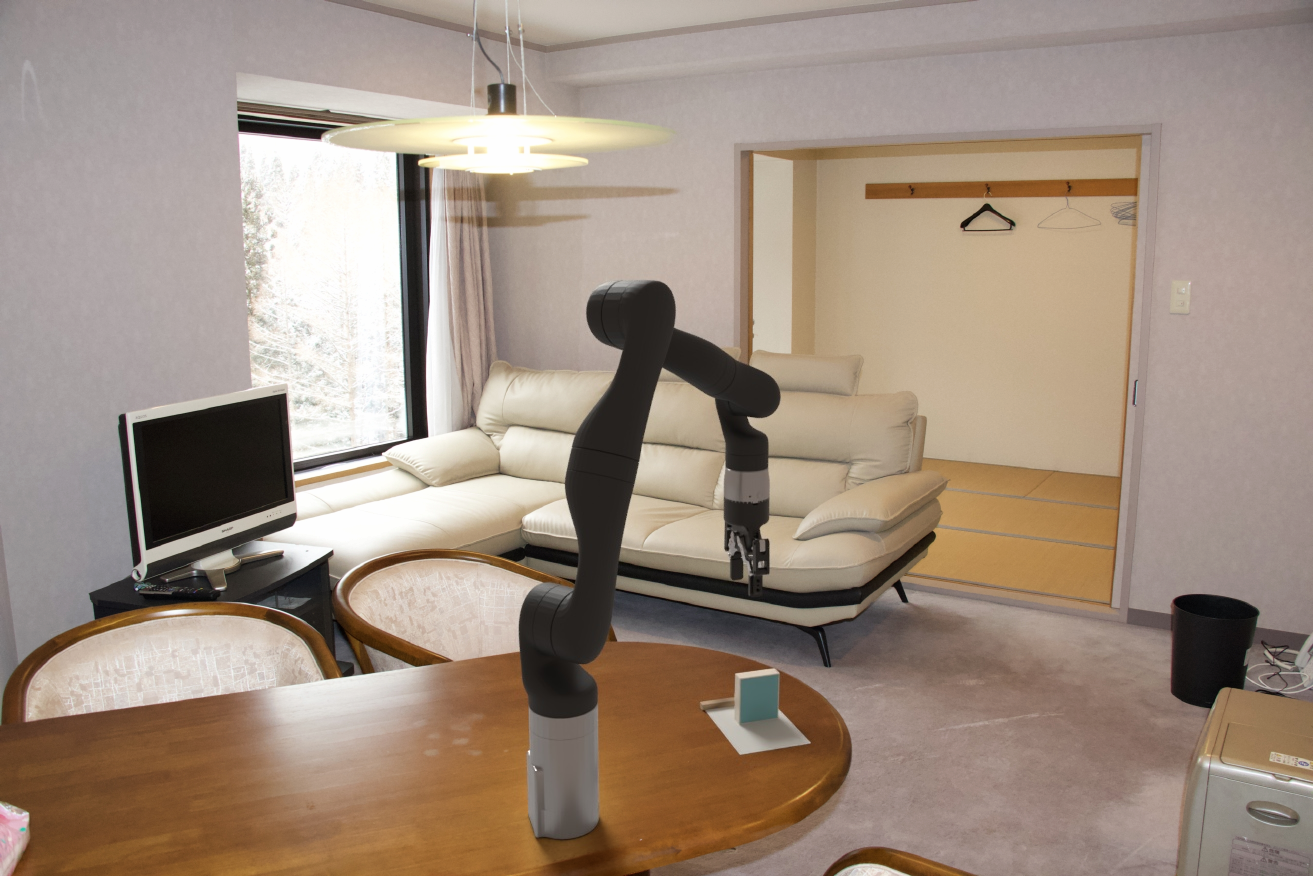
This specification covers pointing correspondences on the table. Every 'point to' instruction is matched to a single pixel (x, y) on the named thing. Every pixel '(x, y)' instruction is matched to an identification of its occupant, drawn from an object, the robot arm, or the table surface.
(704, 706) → the turner
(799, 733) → the mat
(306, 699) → the table surface
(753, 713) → the tile
